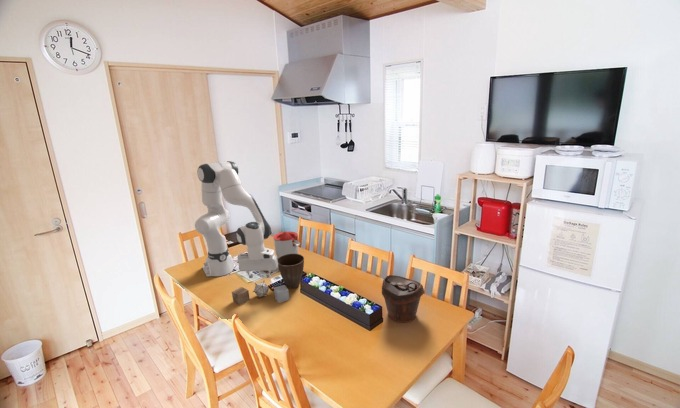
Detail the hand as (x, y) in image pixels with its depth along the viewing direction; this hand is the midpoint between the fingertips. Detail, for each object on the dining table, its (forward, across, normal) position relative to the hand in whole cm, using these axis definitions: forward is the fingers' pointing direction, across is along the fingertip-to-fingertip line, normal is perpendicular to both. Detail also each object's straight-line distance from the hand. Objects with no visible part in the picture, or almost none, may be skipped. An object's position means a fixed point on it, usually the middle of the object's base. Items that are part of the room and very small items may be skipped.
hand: (260, 277), depth 175 cm
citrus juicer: (+11, +6, +43) cm, 45 cm away
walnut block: (+11, -10, -4) cm, 16 cm away
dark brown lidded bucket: (+12, +72, -18) cm, 75 cm away
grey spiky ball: (+11, 0, 0) cm, 11 cm away
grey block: (+11, +11, -3) cm, 16 cm away
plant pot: (+12, +15, +11) cm, 21 cm away
